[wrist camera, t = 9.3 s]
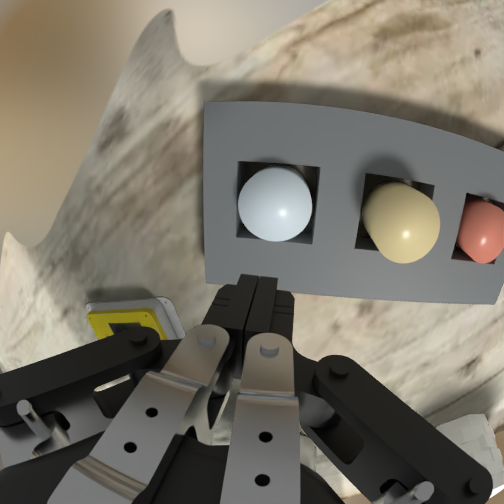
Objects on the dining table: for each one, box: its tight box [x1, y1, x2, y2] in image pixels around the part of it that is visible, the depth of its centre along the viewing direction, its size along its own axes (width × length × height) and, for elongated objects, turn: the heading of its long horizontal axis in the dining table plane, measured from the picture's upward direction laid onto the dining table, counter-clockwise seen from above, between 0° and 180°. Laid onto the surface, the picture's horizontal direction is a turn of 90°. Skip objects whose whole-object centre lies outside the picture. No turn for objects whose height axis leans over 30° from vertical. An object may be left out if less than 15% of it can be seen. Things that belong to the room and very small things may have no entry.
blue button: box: [238, 164, 312, 242], centre depth 23 cm, size 6×6×4 cm
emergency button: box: [86, 297, 186, 340], centre depth 33 cm, size 9×4×15 cm
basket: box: [436, 414, 504, 497], centre depth 30 cm, size 25×24×19 cm
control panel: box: [203, 101, 504, 305], centre depth 22 cm, size 32×16×3 cm, turn 88°
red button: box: [455, 195, 504, 263], centre depth 21 cm, size 6×6×4 cm
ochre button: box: [362, 181, 440, 263], centre depth 20 cm, size 6×6×4 cm
